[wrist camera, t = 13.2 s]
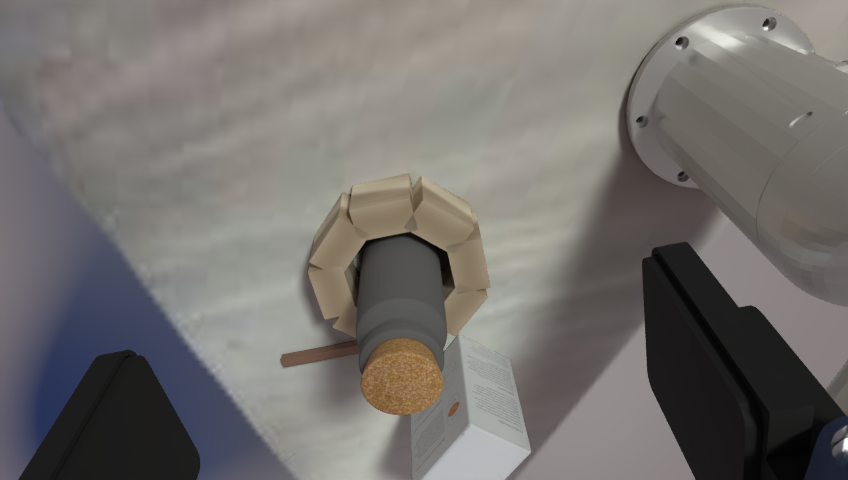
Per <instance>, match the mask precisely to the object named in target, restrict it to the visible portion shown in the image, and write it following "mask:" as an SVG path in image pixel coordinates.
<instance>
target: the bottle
mask: <svg viewBox="0 0 848 480" xmlns="http://www.w3.org/2000/svg"><path fill="white" fill-rule="evenodd" d="M446 339H447V323H446V312H445V303H444V294H443V285H442V277H441V268H440V260H439V253H438V247H437V246H435V245H434V244H432V243H430V242H428V241H426V240H424V239H423V238H421V237H419V236H417V235H415V234H414V233H412V232H405V233H400V234H395V235H390V236H386V237H381V238H376V239H371V240H366V241H365V243H364V247H363V253H362V262H361V273H360V284H359V295H358V306H357V317H356V341H357V345H358V347H359V349H360V354H359V367H360V371H361V374H362V377H361V390H362V393H363V395H364V397H365V399H366V400H367V401H368V402H369V403H370V404H371V405H372V406H373V407H375V408H376V409H378V410H380V411H382V412H385V413H388V414H394V415H409V414H414V413H418V412H420V411H423V410H425V409H426V408H428V407H430V406H431V405H432V404H433V403H434V402H435V401H436V400H437V399H438V397H439V396H440V394H441V392H442V388H443V377H442V374H441V373H442V371H443V368H444V351H443V348H444V346H445V343H446Z"/></svg>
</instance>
